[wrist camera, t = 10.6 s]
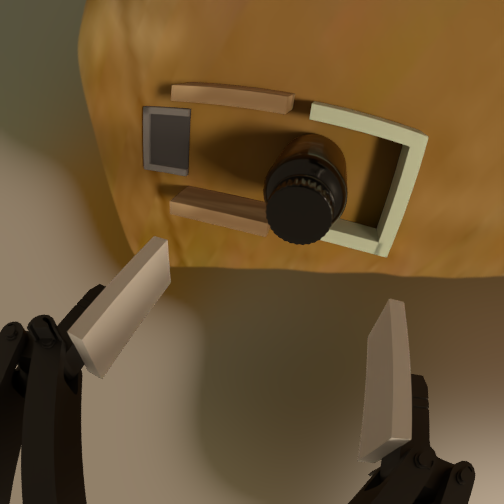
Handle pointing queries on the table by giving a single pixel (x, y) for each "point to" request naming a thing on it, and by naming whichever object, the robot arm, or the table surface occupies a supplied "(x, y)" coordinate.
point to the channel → (215, 203)
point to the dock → (401, 185)
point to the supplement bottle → (306, 189)
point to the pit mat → (166, 139)
